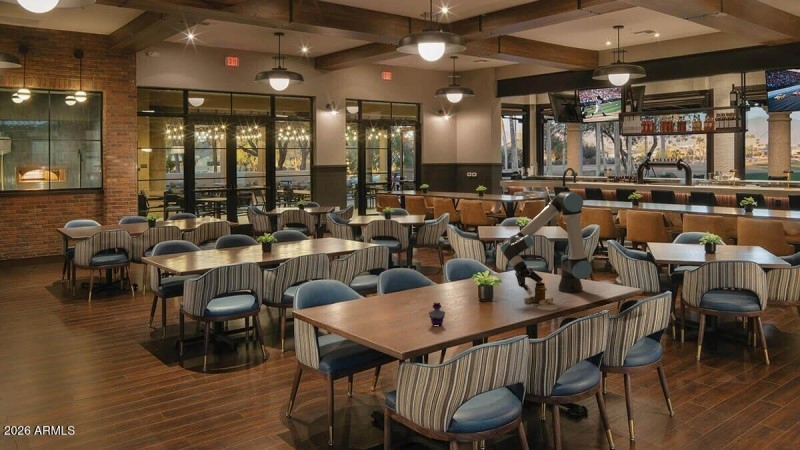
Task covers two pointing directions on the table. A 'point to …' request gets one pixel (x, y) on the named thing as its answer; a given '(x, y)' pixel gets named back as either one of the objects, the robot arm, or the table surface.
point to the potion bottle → (437, 314)
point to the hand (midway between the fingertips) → (538, 292)
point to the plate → (547, 307)
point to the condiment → (539, 293)
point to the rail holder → (542, 302)
